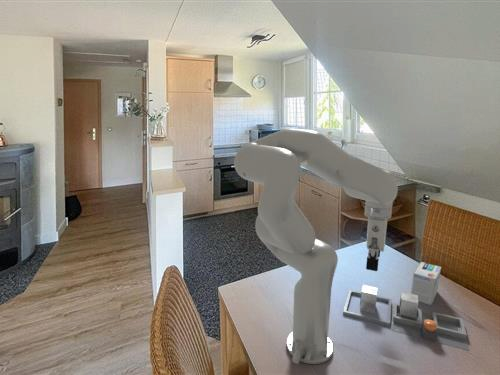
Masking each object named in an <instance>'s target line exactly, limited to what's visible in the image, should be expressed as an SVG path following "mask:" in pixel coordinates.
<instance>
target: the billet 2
mask: <svg viewBox="0 0 500 375" xmlns="http://www.w3.org/2000/svg"><path fill="white" fill-rule="evenodd" d="M399 304H400V305H399V317H402V318H406V319H410V320H414V321H416V316H417V309H419V308H418V307H419V301H418V295H414V294H411V293H408V292H404V291H401V295H400V299H399Z"/></svg>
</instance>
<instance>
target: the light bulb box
mask: <svg viewBox="0 0 500 375" xmlns="http://www.w3.org/2000/svg"><path fill="white" fill-rule="evenodd" d="M441 269H442V266H439V265H436V264H435V265H434V264H430V263H427V262H424V261H420V263H419V264H418V266H417V268H416V269H415V271H414V273H413V277H412V284H411V291H410V294H414V295H418V302H420V303H422V304H426V305H429V306H431V305H432V304H433V302H434V300H435V298H436V296H437V293H438V289H439V281H440V277H441V271H442V270H441Z"/></svg>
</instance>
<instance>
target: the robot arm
mask: <svg viewBox="0 0 500 375" xmlns="http://www.w3.org/2000/svg"><path fill="white" fill-rule="evenodd" d="M233 161H234V162H233V165H234V169H235V171H236V173H237V175H238V176H240V177H241V178H242V179H243V180H246V181H248V182H252V183H256V184H259V185H262V186H263V187H262V190H261V193H260V197H259V201H258V205H257V213H258V214H257V216H256V219H255V226H254V227H255V233H256V234H257V237H258V238H259V239H260V241H261V242H262V243H263V244H264V245H265V247H267V249H268V250H269V251H270V252H271V253H272V255H274V256H275V257H276V258H277V259H278V260H279V261H280V262H282V263H284V264H285V265H287V266H289V267H290V268H292V269H293V270H295V271H297V272H299V273H300V275H301V277H300V279H298V281H297V282H296V283H295V286H294V288H293V290H294V291H293V315H292V332H290V334H289V335H288V337H287V338H286V349H287V351H288V353H289V354H290V355H291V356H292V357H291V360H292V362H293V363H294V364H295V365H296V364H297V365H298V364H299V363H300V362H301V363H304V364H310V365H319V364H322V363H325V362H327V361H328V360H330V359H331V358H332V355H333V354H334V345H333V341H332V340H331V338H329V330H330V315H331V314H330V313H331V312H330V311H331V298H332V287H333V280H334V277H335V274H336V269H337V265H338V262H339V259H338V254H337V252H336V250H335V249H334V248H333V247H332V246H331V245H330V244H328V243H327V242H324V241H323V240H320V239H318V238H317V237H316V232H315V230H314V227H313V225H312V224H311V223H310V221H309V220H308V218H307V217H306V216H305V215H304V213H303V211H302V210H301V209H300V207H299V205H298V204H297V202H296V200H295V195H296V190H297V188H298V184H299V180H300V178H301V173H302V172H301V170H302V169H301V167H302V168H304V169H306V170H308V171H310V172H311V173H312V174H315V175H316V176H317V177H320V178H321V179H322V180H324V181H326V182H327V183H330V184H331V185H334V186H338V187H340V188H343V191H344V192H345V194H346V195H348V196H349V197H352V198H353V199H354V198H355V199H359V200H362V201H365V203H364V216H365V217H367V230H366V248H367V250H368V253H367V256H366V265H365V267H366V268H365V269H366V270H367V271H374V272H377V271H378V270H379V260H380V259H379V258H380V257H381V256H380V255H381V252H384V251H385V246H386V238H387V228H388V220H389V219H391V218H392V212H393V203H394V201H395V200H396V198H397V197H398V196H397V195H398V191H399V190H398V189H399V188H398V183H397V182H396V174H395V173H394V171H392V170H389V169H382V168H380V167H379V166H377V165H374V164H372V163H369V162H367V161H366V160H364V159H361V158H359V157H357V156H354V155H351V154H350V153H348V152H347V151H345V150H344V149H343V148H342V147H340V146H338V145H337V144H336V143H335V142H333V141H332V140H331V139H329V138H328V137H326V135H324V134H323V133H322V132H321V133H320V132H319V131H315V130H311V129H300V128H299V129H297V128H286V129H281V130H279V131H275V132H273V133H270V134H268V135H266V136H262V137H260V138H257V139H255V140H253V141H250V142H247V143H246V144H244V145H243V146H241V147H240V148H239V149H238V150H237V151H236V154H235V156H234V160H233Z"/></svg>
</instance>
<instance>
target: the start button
mask: <svg viewBox="0 0 500 375" xmlns="http://www.w3.org/2000/svg"><path fill="white" fill-rule="evenodd" d="M424 328H425V329H426V330H428V331H431V332H435V331H436V329H437V323H436V322H434V321H433V320H429V319H426V320H425V321H424Z"/></svg>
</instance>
